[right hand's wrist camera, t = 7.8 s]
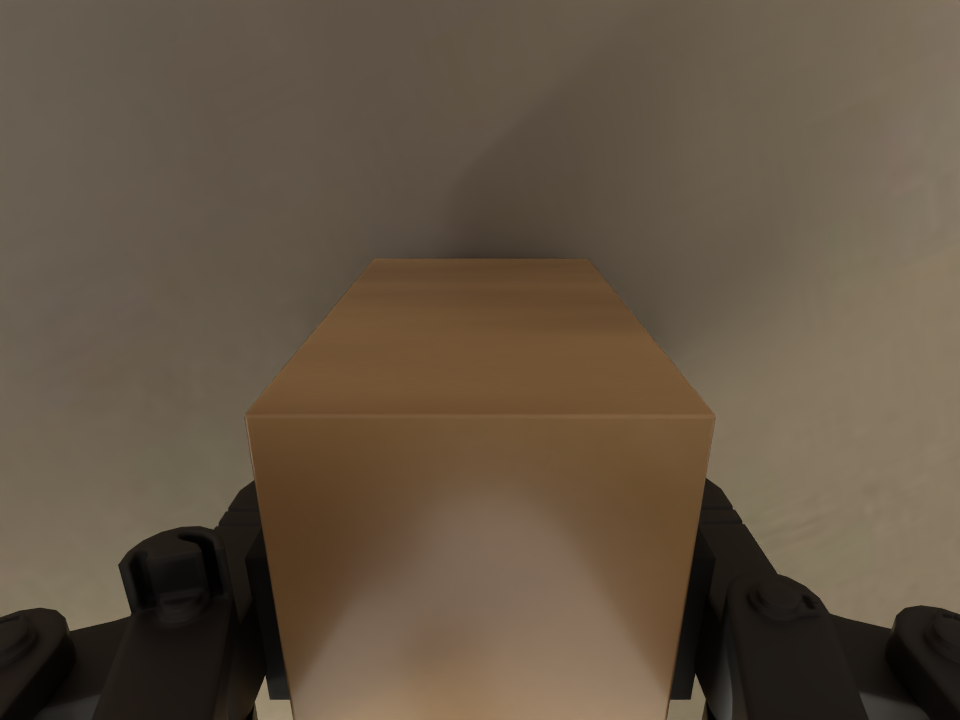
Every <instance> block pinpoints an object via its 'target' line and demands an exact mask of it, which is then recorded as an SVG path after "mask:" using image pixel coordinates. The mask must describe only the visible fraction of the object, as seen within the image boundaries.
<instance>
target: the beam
mask: <svg viewBox="0 0 960 720" xmlns="http://www.w3.org/2000/svg"><path fill="white" fill-rule="evenodd" d="M244 418H245V425H246V431H247V437H248V443H249V449H250V455H251V462H252V468H253V474H254V480H255V486H256V492H257V499H258V505H259V511H260V517H261V523H262V529H263V536H264V542H265V548H266V554H267V560H268V566H269V573H270V579H271V585H272V591H273V597H274V603H275V610H276V616H277V622H278V628H279V634H280V640H281V647H282V653H283V659H284V665H285V671H286V677H287V684H288V690H289V696H290V702H291V708H292V714H293V720H667V714H668V708H669V702H670V696H671V689H672V683H673V677H674V671H675V665H676V658H677V652H678V646H679V640H680V634H681V628H682V621H683V615H684V609H685V603H686V597H687V590H688V584H689V578H690V572H691V566H692V559H693V553H694V547H695V541H696V535H697V529H698V522H699V516H700V510H701V504H702V498H703V491H704V485H705V479H706V473H707V467H708V460H709V454H710V448H711V442H712V436H713V429H714V423H715V414H714V413H713V412H712V411H711V409H710V408H709V407H708V406H707V405H706V403H705V402H704V401H703V400H702V398H701V397H700V396H699V395H698V393H697V392H696V391H695V390H694V389H693V387H692V386H691V385H690V384H689V382H688V381H687V380H686V379H685V378H684V376H683V375H682V374H681V373H680V371H679V370H678V369H677V368H676V366H675V365H674V364H673V363H672V362H671V360H670V359H669V358H668V357H667V355H666V354H665V353H664V352H663V351H662V349H661V348H660V347H659V346H658V344H657V343H656V342H655V341H654V339H653V338H652V337H651V336H650V335H649V333H648V332H647V331H646V330H645V328H644V327H643V326H642V325H641V324H640V322H639V321H638V320H637V319H636V317H635V316H634V315H633V314H632V312H631V311H630V310H629V309H628V308H627V306H626V305H625V304H624V303H623V301H622V300H621V299H620V298H619V297H618V295H617V294H616V293H615V292H614V290H613V289H612V288H611V287H610V285H609V284H608V283H607V282H606V281H605V279H604V278H603V277H602V276H601V274H600V273H599V272H598V271H597V270H596V268H595V267H594V266H593V265H592V263H591V262H590V261H589V260H588V259H373V261H372V262H371V263H370V264H369V265H368V267H367V268H366V269H365V270H364V271H363V273H362V274H361V275H360V276H359V277H358V279H357V280H356V281H355V282H354V283H353V285H352V286H351V287H350V288H349V289H348V291H347V292H346V293H345V294H344V295H343V297H342V298H341V299H340V300H339V301H338V303H337V304H336V305H335V306H334V308H333V309H332V310H331V311H330V312H329V314H328V315H327V316H326V317H325V318H324V320H323V321H322V322H321V323H320V324H319V326H318V327H317V328H316V329H315V330H314V332H313V333H312V334H311V335H310V336H309V338H308V339H307V340H306V341H305V342H304V344H303V345H302V346H301V347H300V348H299V350H298V351H297V352H296V353H295V354H294V356H293V357H292V358H291V359H290V360H289V362H288V363H287V364H286V365H285V366H284V368H283V369H282V370H281V371H280V373H279V374H278V375H277V376H276V377H275V379H274V380H273V381H272V382H271V383H270V385H269V386H268V387H267V388H266V389H265V391H264V392H263V393H262V394H261V395H260V397H259V398H258V399H257V400H256V401H255V403H254V404H253V405H252V406H251V407H250V409H249V410H248V411H247V412H246V413H245V416H244Z"/></svg>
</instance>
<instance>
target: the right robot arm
mask: <svg viewBox="0 0 960 720" xmlns="http://www.w3.org/2000/svg"><path fill="white" fill-rule="evenodd" d="M118 566H119V570H120V573H121V577H122V580H123V584H124V588H125V591H126V595H127V598H128V602H129V606H130V609H131V616H129V617H126V618H123V619H119V620H116V621H112V622H108V623H104V624H99V625H95V626H91V627H86V628H82V629H78V630H74V631H69V628H68V625H67V622H66V619H65V617H63V616H62V615H61V614H60V613H59V612H58V611H57V610H51V609H45V608H35V609H28V610H21V611H17V612H14V613H12V614H9V615H6V616H3V617H0V720H258V718H257V711H256V706H255V700H256V697H257V695H258V692H259V690H260V687H261V685H262V682H263V679H264V677H265V675H266V680H267V686H268V691H269V697H270V700H290V696H289V690H288V684H287V677H286V671H285V665H284V659H283V653H282V647H281V640H280V634H279V628H278V622H277V616H276V610H275V603H274V597H273V591H272V585H271V579H270V573H269V566H268V560H267V554H266V548H265V542H264V536H263V529H262V523H261V517H260V511H259V505H258V499H257V492H256V486H255V480H254V481H252V482H251V483H250V484H248V485H247V486H246V487H244V488H243V489H241V490H240V491H239V493H238V494H237V496H236V497H235V499H234V500H233V502H232V503H231V505H230V506H229V508H228V512H225V514H224V515H223V517H222V518H221V520H220V521H219V526H216V528H215V529H214V530H213V529H209V528H205V527H201V526H192V527H179V528H175V529H171V530H167V531H163V532H161V533H158V534H156V535H154V536H152V537H150V538H148V539H145V540H143V541H142V542H141V543H139V544H138V545H136V546H135V547H134V548H132V549H131V550H130V551H128V552H127V554H126V555H125V556H124V558H123V559H122V560H121V562H120V563H119V564H118ZM695 673H696V675H697V678H698V680H699V683H700V685H701V688H702V691H703V693H704V696H705V698H706V701H705V706H704V711H703V716H702V720H960V614H957V613H954V612H951V611H948V610H945V609H942V608H936V607H929V606H922V605H921V606H914V607H908V608H905V609H903V610H902V611H901V612H900V613H899V614H898V615H896V618H895V621H894V624H893V627H892V629H889V628H884V627H880V626H876V625H872V624H867V623H863V622H859V621H854V620H850V619H846V618H843V617H839V616H836V615H833V614H830V613H829V612H828V610H827V609H826V607H825V606H824V604H823V603H822V601H821V600H820V598H819V597H817V596H816V595H815V594H814V593H813V592H812V591H810V590H809V589H808V588H807V587H806V586H804V585H802V584H800V583H798V582H796V581H794V580H792V579H790V578H788V577H786V576H782V575H779V574H777V572H776V571H775V569H774V568H773V566H772V565H771V563H770V562H769V560H768V559H767V557H766V556H765V554H764V553H763V551H762V550H761V548H760V547H759V545H758V544H757V542H756V541H755V539H754V538H753V536H752V535H751V533H750V532H749V530H748V529H747V527H746V526H745V524H742V520H741V518H740V517H739V515H738V514H737V512H736V511H735V510H733V506H732V505H731V503H730V502H729V500H728V499H727V497H726V496H725V494H724V493H723V491H722V490H721V488H719V487H718V486H716V485H715V484H714V483H712V482H711V481H710V480H708V479H707V478H706V479H705V485H704V491H703V498H702V504H701V510H700V516H699V522H698V529H697V535H696V541H695V547H694V553H693V559H692V566H691V572H690V578H689V584H688V590H687V597H686V603H685V609H684V615H683V621H682V628H681V634H680V640H679V646H678V652H677V658H676V665H675V671H674V677H673V683H672V689H671V696H670V700H690V699H691V694H692V688H693V683H694V677H695Z"/></svg>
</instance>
